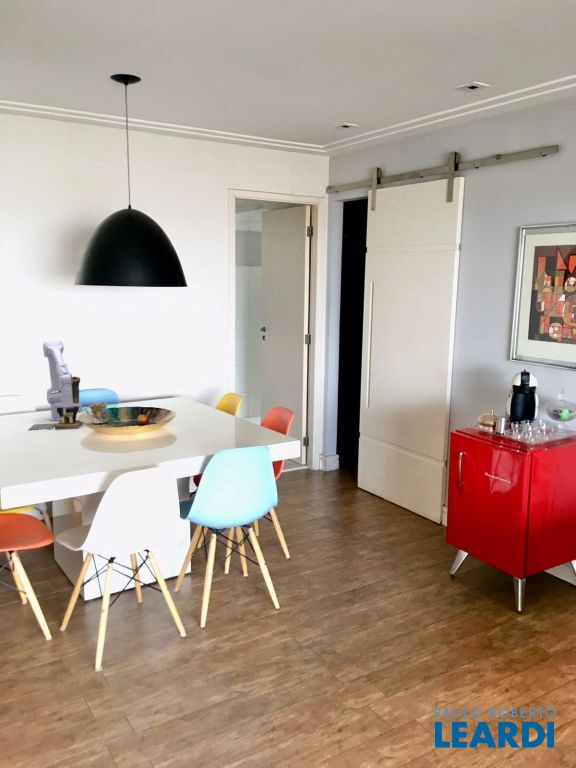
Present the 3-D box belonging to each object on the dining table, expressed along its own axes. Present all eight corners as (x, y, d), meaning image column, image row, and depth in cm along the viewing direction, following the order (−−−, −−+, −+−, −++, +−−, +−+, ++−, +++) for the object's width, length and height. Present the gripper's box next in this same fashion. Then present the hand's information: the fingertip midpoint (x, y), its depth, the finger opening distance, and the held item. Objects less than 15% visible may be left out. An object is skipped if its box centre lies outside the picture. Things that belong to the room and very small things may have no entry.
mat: (34, 424, 363) (34, 424, 363) (57, 424, 364) (57, 423, 364) (28, 430, 351) (28, 429, 351) (51, 429, 352) (51, 428, 352)
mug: (111, 421, 368) (109, 402, 367) (105, 425, 359) (104, 405, 357) (89, 421, 369) (88, 402, 367) (83, 425, 360) (82, 406, 358)
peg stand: (60, 424, 363) (59, 415, 362) (83, 423, 364) (82, 414, 364) (55, 429, 352) (54, 420, 351) (78, 428, 353) (77, 419, 352)
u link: (65, 419, 361) (64, 413, 361) (75, 419, 362) (75, 413, 361) (61, 423, 353) (61, 416, 353) (72, 422, 354) (72, 416, 353)
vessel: (85, 407, 405) (82, 375, 401) (79, 413, 391) (76, 380, 387) (61, 408, 404) (58, 376, 400) (54, 414, 390) (51, 381, 386)
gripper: (50, 398, 351) (53, 423, 353) (79, 397, 352) (81, 422, 354) (54, 395, 357) (56, 420, 360) (81, 394, 359) (83, 419, 361)
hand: (68, 421), depth 358 cm, fingers closed on u link, 6 cm apart
